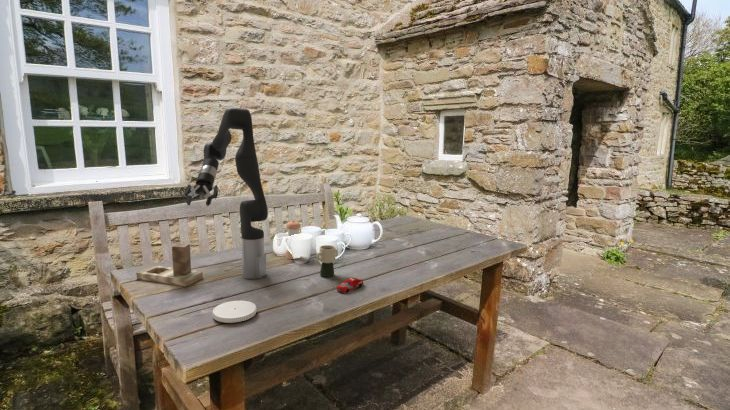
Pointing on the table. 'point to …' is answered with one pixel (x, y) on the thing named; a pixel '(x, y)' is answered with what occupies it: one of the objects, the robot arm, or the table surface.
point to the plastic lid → (234, 311)
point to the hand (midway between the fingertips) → (197, 204)
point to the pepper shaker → (292, 233)
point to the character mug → (327, 259)
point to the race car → (350, 285)
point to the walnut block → (181, 259)
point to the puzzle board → (168, 276)
